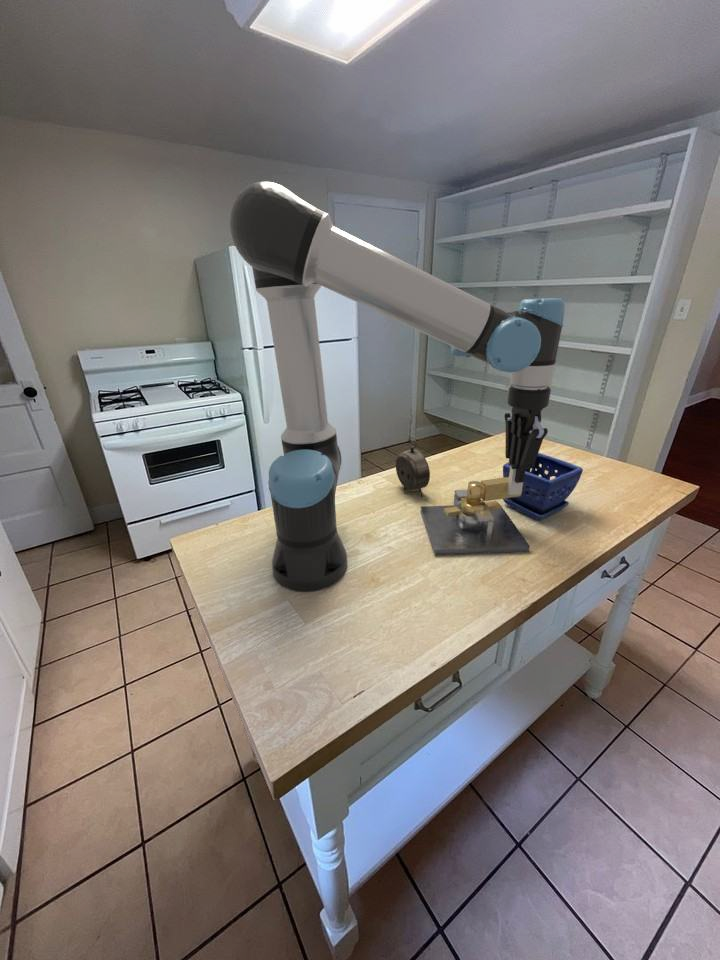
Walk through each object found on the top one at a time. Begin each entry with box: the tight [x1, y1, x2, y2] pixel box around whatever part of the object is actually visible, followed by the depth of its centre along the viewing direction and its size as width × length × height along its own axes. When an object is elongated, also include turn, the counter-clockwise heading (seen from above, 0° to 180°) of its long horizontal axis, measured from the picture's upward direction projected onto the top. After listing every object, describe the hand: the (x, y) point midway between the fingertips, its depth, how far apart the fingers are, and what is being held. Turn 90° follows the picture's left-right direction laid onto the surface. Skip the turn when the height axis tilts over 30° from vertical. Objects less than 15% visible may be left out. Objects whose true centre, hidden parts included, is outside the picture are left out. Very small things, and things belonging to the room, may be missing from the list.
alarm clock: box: [395, 435, 431, 498], centre depth 103 cm, size 11×5×16 cm, turn 27°
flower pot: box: [502, 452, 584, 521], centre depth 95 cm, size 13×13×12 cm
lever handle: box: [444, 477, 521, 517], centre depth 85 cm, size 17×5×7 cm, turn 103°
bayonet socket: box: [420, 489, 531, 556], centre depth 87 cm, size 20×18×7 cm
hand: (513, 493), depth 85 cm, fingers closed
